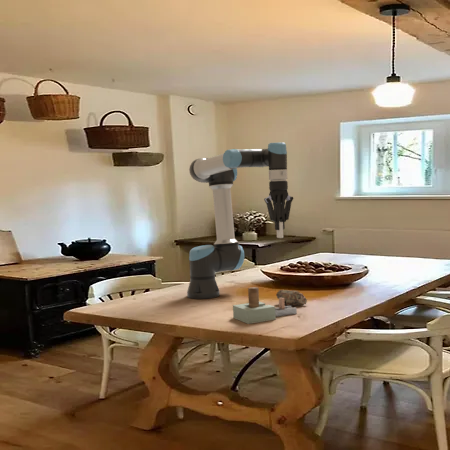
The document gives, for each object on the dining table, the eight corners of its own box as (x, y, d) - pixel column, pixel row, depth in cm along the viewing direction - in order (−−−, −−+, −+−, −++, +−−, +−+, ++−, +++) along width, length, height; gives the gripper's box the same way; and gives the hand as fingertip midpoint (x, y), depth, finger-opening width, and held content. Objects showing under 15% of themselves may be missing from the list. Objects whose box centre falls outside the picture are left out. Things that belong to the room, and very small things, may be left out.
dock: (233, 317, 241) (232, 305, 241) (259, 313, 247) (259, 301, 246) (248, 323, 230) (247, 310, 230) (275, 319, 236) (275, 306, 235)
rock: (274, 290, 265) (281, 290, 255) (300, 288, 267) (307, 288, 257) (275, 306, 264) (282, 307, 255) (301, 304, 267) (308, 305, 257)
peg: (247, 318, 239) (246, 288, 238) (256, 317, 241) (255, 286, 240) (252, 320, 236) (251, 289, 235) (261, 319, 238) (260, 288, 237)
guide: (264, 315, 243) (264, 309, 243) (290, 311, 249) (289, 305, 248) (270, 317, 239) (270, 311, 239) (296, 313, 244) (296, 307, 244)
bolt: (262, 315, 241) (261, 300, 241) (281, 312, 245) (281, 297, 245) (265, 316, 239) (264, 301, 239) (284, 313, 243) (284, 298, 243)
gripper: (269, 180, 246) (271, 239, 247) (296, 179, 251) (298, 237, 253) (259, 181, 252) (261, 238, 254) (286, 180, 258) (288, 235, 260)
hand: (280, 237), depth 254 cm, fingers closed
